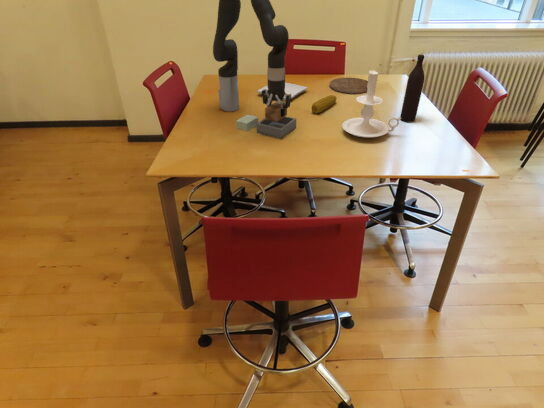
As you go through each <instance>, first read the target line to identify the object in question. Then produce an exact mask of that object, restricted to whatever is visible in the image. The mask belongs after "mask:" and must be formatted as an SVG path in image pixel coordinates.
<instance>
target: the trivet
mask: <svg viewBox="0 0 544 408" xmlns="http://www.w3.org/2000/svg"><path fill="white" fill-rule="evenodd" d="M367 84H368V79H363V78H360V77H359V78H358V77H339V78H335V79H331V80H330V81H329V89H331V91H334V92H336V93H339V94H343V95H344V94H345V95H363V93H364V94H367V90H368V88H367Z"/></svg>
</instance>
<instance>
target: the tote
mask: <svg viewBox="0 0 544 408" xmlns="http://www.w3.org/2000/svg"><path fill="white" fill-rule="evenodd" d="M255 127H256V134H260V135H263V136H267V137H271V138H275V139H278V140H282V139H284V138H285V137H287V135H289V134H290V133H291V132H293V131H294V130H295V129H296V128H297V118H296V117H292V116H288V115H286V116H285V117H283V118H282V119H280V120H279V121H277V122H275V121H271V120H267V119H265V117H264V118H262V119H261V120H260V121H258V123H257V124H256V126H255Z"/></svg>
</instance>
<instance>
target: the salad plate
mask: <svg viewBox="0 0 544 408" xmlns="http://www.w3.org/2000/svg"><path fill="white" fill-rule="evenodd" d="M264 89H266V90H268V84H266V85H265V86H263V87H262V88H261V87H260V88H259V89H258V90H257V91H256V92H257V93H258V94H260V95H262V91H263V90H264ZM307 89H308V87H307V86H303V85H299V84H294V83H290V82H285V93H286V94H291V100H292V99H294V98H295V97H297V96H298V95H300V94H301V93H303V92H305V91H306V90H307ZM267 96H268V98H269V97H270V96H269V95H268V94H267ZM284 100H285V101H286V99H285V96H284Z"/></svg>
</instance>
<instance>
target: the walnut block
mask: <svg viewBox="0 0 544 408" xmlns="http://www.w3.org/2000/svg"><path fill="white" fill-rule="evenodd" d="M264 115H265V116H264V118H265V119H267V120H271V121H275V122H277V121H279V120H280V119H282V118H283V117H285V116H288V108H287V109H286V114H285V115H284V116H283V117H281V106H280V105H279V103H278V102H277V101H274V102H272V104H271V105H270V106H268V107H267V106H266V107H265V108H264Z"/></svg>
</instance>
